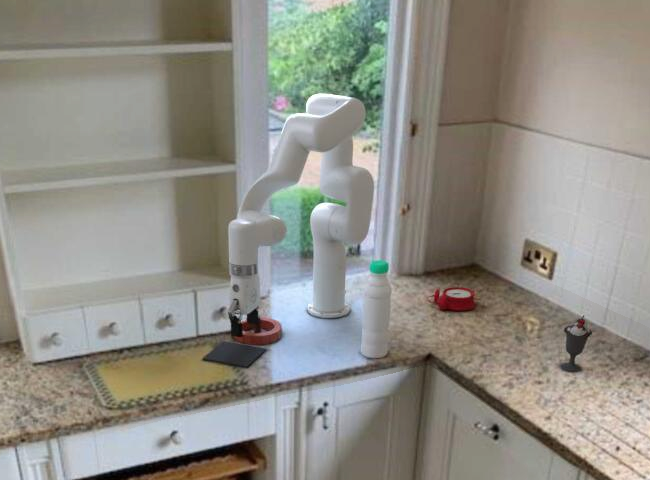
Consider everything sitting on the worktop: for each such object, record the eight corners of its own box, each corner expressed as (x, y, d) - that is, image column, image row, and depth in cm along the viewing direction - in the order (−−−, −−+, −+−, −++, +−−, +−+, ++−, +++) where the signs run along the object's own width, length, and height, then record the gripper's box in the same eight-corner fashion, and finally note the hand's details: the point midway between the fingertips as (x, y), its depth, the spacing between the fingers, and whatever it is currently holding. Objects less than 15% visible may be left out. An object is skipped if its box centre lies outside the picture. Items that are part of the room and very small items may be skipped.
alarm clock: (484, 299, 236) (436, 290, 233) (477, 318, 239) (430, 310, 236) (474, 286, 245) (428, 278, 242) (467, 305, 248) (422, 297, 245)
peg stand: (253, 330, 227) (253, 312, 225) (269, 333, 226) (269, 314, 223) (245, 336, 224) (245, 318, 221) (262, 339, 222) (261, 321, 219)
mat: (223, 342, 220) (223, 341, 220) (266, 350, 216) (266, 348, 215) (202, 359, 211) (202, 358, 211) (247, 368, 206) (247, 366, 206)
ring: (246, 322, 232) (246, 314, 231) (288, 329, 227) (288, 321, 226) (225, 340, 222) (225, 331, 220) (269, 347, 217) (269, 339, 216)
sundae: (571, 375, 200) (582, 319, 192) (551, 365, 205) (561, 310, 198) (590, 370, 203) (602, 314, 195) (570, 360, 208) (581, 305, 200)
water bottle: (386, 360, 209) (392, 267, 196) (359, 358, 211) (363, 266, 198) (388, 349, 215) (394, 258, 202) (362, 347, 216) (366, 257, 203)
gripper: (242, 280, 200) (243, 343, 208) (270, 260, 213) (270, 321, 222) (215, 276, 202) (217, 339, 211) (245, 257, 216) (246, 317, 224)
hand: (244, 329), depth 216 cm, fingers open, 9 cm apart
